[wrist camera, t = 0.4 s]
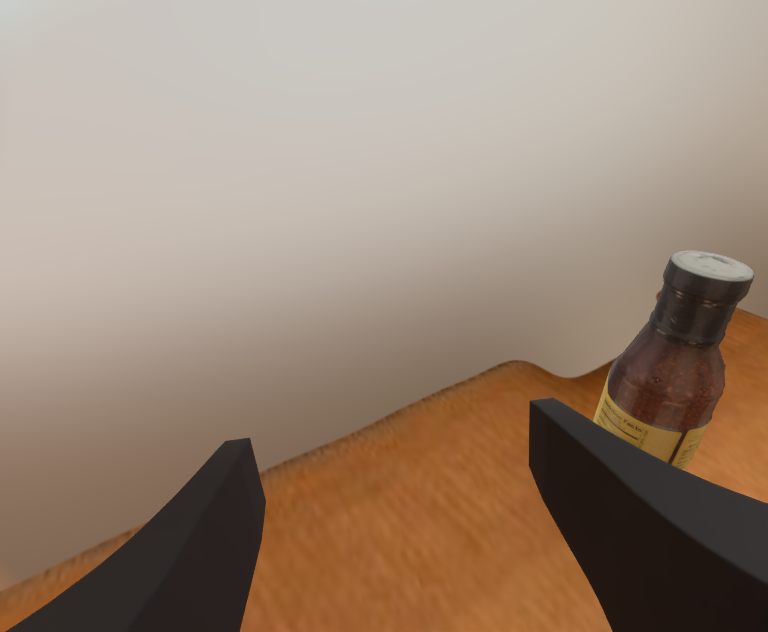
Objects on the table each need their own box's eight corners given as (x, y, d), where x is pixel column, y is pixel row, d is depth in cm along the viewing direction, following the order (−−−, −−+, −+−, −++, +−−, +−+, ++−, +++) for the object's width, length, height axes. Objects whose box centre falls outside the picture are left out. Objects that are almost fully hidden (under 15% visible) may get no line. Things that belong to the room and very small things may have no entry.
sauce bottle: (634, 472, 39) (742, 244, 29) (674, 542, 33) (824, 292, 23) (555, 468, 39) (635, 238, 28) (582, 538, 33) (693, 284, 23)
